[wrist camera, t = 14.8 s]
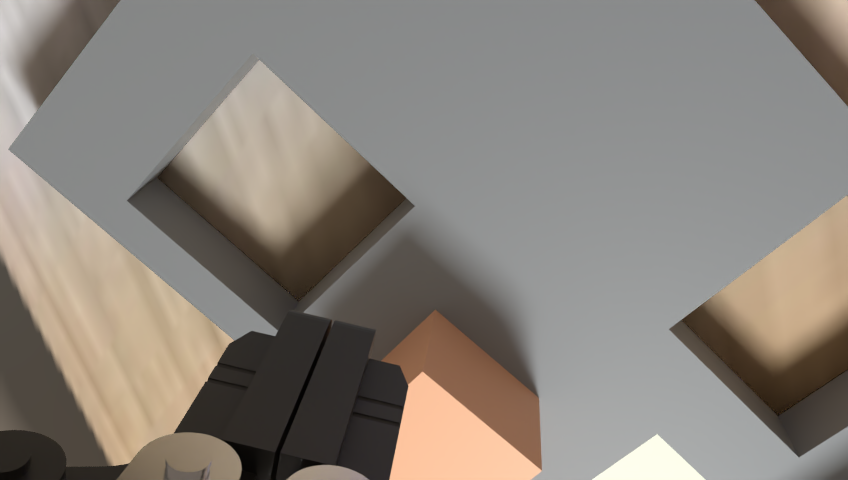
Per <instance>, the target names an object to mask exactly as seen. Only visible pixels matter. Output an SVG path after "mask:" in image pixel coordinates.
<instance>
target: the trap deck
mask: <svg viewBox="0 0 848 480" xmlns="http://www.w3.org/2000/svg"><path fill="white" fill-rule="evenodd" d="M258 60H260V61H262V62H263V63H264V64H265V65H266V66H267V67H268V68H269V69H270V70H271V71H272V72H273V73H274V74H275V75H276V76H277V77H279V78H280V79H281V80H282V81H283V82H284V83H285V84H286V85H287V86H288V87H289V88H290V89H291V90H292V91H293V92H294V93H296V94H297V95H298V96H299V97H300V98H301V99H302V100H303V101H304V102H305V103H306V104H307V105H308V106H309V107H310V108H311V109H313V110H314V111H315V112H316V113H317V114H318V115H319V116H320V117H321V118H322V119H323V120H324V121H325V122H326V123H327V124H328V125H330V126H331V127H332V128H333V129H334V130H335V131H336V132H337V133H338V134H339V135H340V136H341V137H342V138H343V139H344V140H345V141H347V142H348V143H349V144H350V145H351V146H352V147H353V148H354V149H355V150H356V151H357V152H358V153H359V154H360V155H361V156H362V157H363V158H365V159H366V160H367V161H368V162H369V163H370V164H371V165H372V166H373V167H374V168H375V169H376V170H377V171H378V172H379V173H380V174H382V175H383V176H384V177H385V178H386V179H387V180H388V181H389V182H390V183H391V184H392V185H393V186H394V187H395V188H396V189H397V190H399V191H400V192H401V193H402V194H403V195H404V196H405V197H406V199H405V200H404V201H403V202H402V203H401V204H400V205H399V206H398V207H397V208H396V209H395V210H394V211H393V212H392V213H390V214H389V215H388V216H387V217H386V218H385V219H384V220H383V221H382V222H381V223H380V224H379V225H378V226H377V227H376V228H375V229H374V230H373V231H372V232H371V233H370V234H369V235H368V236H367V237H366V238H364V239H363V240H362V241H361V242H360V243H359V244H358V245H357V246H356V247H355V248H354V249H353V250H352V251H351V252H350V253H349V254H348V255H347V256H346V257H345V258H344V259H343V260H342V261H341V262H340V263H338V264H337V265H336V266H335V267H334V268H333V269H332V270H331V271H330V272H329V273H328V274H327V275H326V276H325V277H324V278H323V279H322V280H321V281H320V282H319V283H318V284H317V285H316V286H315V287H313V288H312V289H311V290H310V291H309V292H308V293H307V294H306V295H305V296H304V297H303V298H302V299H301V300H300V301H299V302H298V301H297V300H296V299H295V298H294V297H293V296H292V295H290V294H289V293H288V292H287V291H286V290H285V289H284V288H282V287H281V286H280V285H279V284H278V283H277V282H276V281H274V280H273V279H272V278H271V277H270V276H269V275H268V274H266V273H265V272H264V271H263V270H262V269H261V268H260V267H258V266H257V265H256V264H255V263H254V262H253V261H252V260H250V259H249V258H248V257H247V256H246V255H245V254H244V253H242V252H241V251H240V250H239V249H238V248H237V247H236V246H234V245H233V244H232V243H231V242H230V241H229V240H228V239H226V238H225V237H224V236H223V235H222V234H221V233H220V232H218V231H217V230H216V229H215V228H214V227H213V226H212V225H210V224H209V223H208V222H207V221H206V220H205V219H204V218H202V217H201V216H200V215H199V214H198V213H197V212H196V211H194V210H193V209H192V208H191V207H190V206H189V205H188V204H186V203H185V202H184V201H183V200H182V199H181V198H180V197H178V196H177V195H176V194H175V193H174V192H173V191H172V190H170V189H169V188H168V187H167V186H166V185H165V184H164V183H162V182H161V181H160V180H159V179H158V178H157V177H158V176H159V175H160V174H161V172H162V171H163V170H164V169H165V168H166V167H167V166H168V164H169V163H170V162H171V161H172V160H173V159H174V157H175V156H176V155H177V154H178V153H179V152H180V150H181V149H182V148H183V147H184V146H185V145H186V144H187V142H188V141H189V140H190V139H191V138H192V137H193V135H194V134H195V133H196V132H197V131H198V130H199V128H200V127H201V126H202V125H203V124H204V123H205V122H206V120H207V119H208V118H209V117H210V116H211V115H212V113H213V112H214V111H215V110H216V109H217V108H218V106H219V105H220V104H221V103H222V102H223V101H224V100H225V98H226V97H227V96H228V95H229V94H230V93H231V91H232V90H233V89H234V88H235V87H236V86H237V84H238V83H239V82H240V81H241V80H242V79H243V78H244V76H245V75H246V74H247V73H248V72H249V71H250V69H251V68H252V67H253V66H254V65H255V64H256V62H257V61H258ZM9 150H10V151H11V152H12V153H13V154H14V155H16V156H17V157H18V158H19V159H20V160H22V161H23V162H24V163H25V164H26V165H27V166H29V167H30V168H31V169H32V170H33V171H35V172H36V173H37V174H38V175H39V176H40V177H42V178H43V179H44V180H45V181H46V182H48V183H49V184H50V185H51V186H52V187H53V188H55V189H56V190H57V191H58V192H59V193H61V194H62V195H63V196H64V197H65V198H67V199H68V200H69V201H70V202H71V203H72V204H74V205H75V206H76V207H77V208H78V209H80V210H81V211H82V212H83V213H84V214H85V215H87V216H88V217H89V218H90V219H91V220H93V221H94V222H95V223H96V224H97V225H98V226H100V227H101V228H102V229H103V230H104V231H106V232H107V233H108V234H109V235H110V236H111V237H113V238H114V239H115V240H116V241H117V242H119V243H120V244H121V245H122V246H123V247H125V248H126V249H127V250H128V251H129V252H130V253H132V254H133V255H134V256H135V257H136V258H138V259H139V260H140V261H141V262H142V263H143V264H145V265H146V266H147V267H148V268H149V269H151V270H152V271H153V272H154V273H155V274H156V275H158V276H159V277H160V278H161V279H162V280H164V281H165V282H166V283H167V284H168V285H169V286H171V287H172V288H173V289H174V290H175V291H177V292H178V293H179V294H180V295H181V296H183V297H184V298H185V299H186V300H187V301H188V302H190V303H191V304H192V305H193V306H194V307H196V308H197V309H198V310H199V311H200V312H201V313H203V314H204V315H205V316H206V317H207V318H209V319H210V320H211V321H212V322H213V323H214V324H216V325H217V326H218V327H219V328H220V329H222V330H223V331H224V332H225V333H226V334H228V335H229V336H230V337H231V338H232V339H233V340H237V339H238V338H240V337H242V336H243V335H245V334H247V333H248V332H250V331H255V332H259V333H264V334H268V335H272V336H276V334H277V332H278V330H279V328H280V326H281V324H282V322H283V321H284V319H285V317H286V315H287V313H288V311H289V310H294V311H299V312H303V313H307V314H311V315H316V316H320V317H324V318H328V319H332V325H333V323H334V321H335V320H337V321H342V322H346V323H350V324H354V325H359V326H363V327H367V328H371V329H375V330H377V331H376V337H375V342H374V346H373V351H372V355H371V359H374V360H378V361H381V360H382V359H383V358H385V357H386V356H387V355H388V354H389V353H390V352H391V351H392V350H393V349H394V348H395V347H396V346H397V345H398V344H399V343H400V342H402V341H403V340H404V339H405V338H406V337H407V336H408V335H409V334H410V333H411V332H412V331H413V330H414V329H415V328H416V327H417V326H419V325H420V324H421V323H422V322H423V321H424V320H425V319H426V318H427V317H428V316H429V315H430V314H431V313H432V312H433V311H434V310H436V311H438V312H439V313H440V314H441V315H442V316H444V317H445V318H446V319H447V320H448V321H449V322H451V323H452V324H453V325H454V326H455V327H456V328H458V329H459V330H460V331H461V332H462V333H463V334H465V335H466V336H467V337H468V338H469V339H470V340H472V341H473V342H474V343H475V344H476V345H477V346H479V347H480V348H481V349H482V350H483V351H485V352H486V353H487V354H488V355H489V356H490V357H492V358H493V359H494V360H495V361H496V362H497V363H499V364H500V365H501V366H502V367H503V368H504V369H506V370H507V371H508V372H509V373H510V374H511V375H513V376H514V377H515V378H516V379H517V380H518V381H520V382H521V383H522V384H523V385H524V386H526V387H527V388H528V389H529V390H530V391H531V392H533V393H534V394H535V395H536V396H537V397H538V398H539V407H540V432H541V457H542V471H541V472H540V473H539V474H537V475H536V476H535V477H534V478H532V479H531V480H848V370H847V371H845V372H844V373H842V374H841V375H839V376H838V377H836V378H835V379H833V380H832V381H830V382H829V383H827V384H826V385H824V386H823V387H821V388H820V389H818V390H817V391H815V392H814V393H812V394H811V395H809V396H808V397H806V398H805V399H803V400H802V401H800V402H799V403H797V404H796V405H794V406H793V407H791V408H790V409H788V410H787V411H785V412H784V413H782V414H781V415H779V416H777V415H776V414H775V413H774V412H773V411H772V410H771V409H770V408H769V407H768V406H767V405H766V404H765V403H764V402H763V401H762V400H761V399H760V398H759V397H758V396H757V395H756V394H755V393H754V392H753V391H752V390H751V389H750V388H749V387H748V386H747V385H746V384H745V383H744V382H743V381H742V380H741V379H740V378H739V377H738V376H737V375H736V374H735V373H734V372H733V371H732V370H731V369H730V368H729V367H728V366H727V365H726V364H725V363H724V362H723V361H722V360H721V359H720V358H719V357H718V356H717V355H716V354H715V353H714V352H713V351H712V350H711V349H710V348H709V347H708V346H707V345H706V344H705V343H704V342H703V341H702V340H701V339H700V338H699V337H698V336H697V335H696V334H695V333H694V332H693V331H692V330H691V329H690V328H689V327H688V326H687V325H686V324H685V323H684V322H683V321H682V319H683V318H684V317H686V316H687V315H688V314H690V313H691V312H692V311H694V310H695V309H696V308H698V307H699V306H700V305H702V304H703V303H704V302H706V301H707V300H708V299H710V298H711V297H712V296H714V295H715V294H716V293H718V292H719V291H720V290H722V289H723V288H724V287H726V286H727V285H728V284H730V283H731V282H732V281H734V280H735V279H736V278H738V277H739V276H740V275H742V274H743V273H744V272H746V271H747V270H748V269H750V268H751V267H752V266H754V265H755V264H756V263H758V262H759V261H760V260H762V259H763V258H764V257H766V256H767V255H768V254H770V253H771V252H772V251H774V250H775V249H776V248H778V247H779V246H780V245H781V244H783V243H784V242H785V241H787V240H788V239H789V238H791V237H792V236H793V235H795V234H796V233H797V232H799V231H800V230H801V229H803V228H804V227H805V226H807V225H808V224H809V223H811V222H812V221H813V220H815V219H816V218H817V217H819V216H820V215H821V214H823V213H824V212H825V211H827V210H828V209H829V208H831V207H832V206H833V205H835V204H836V203H837V202H839V201H840V200H841V199H843V198H844V197H845V196H848V106H847V105H846V104H845V103H844V102H843V100H842V99H841V98H840V97H839V96H838V95H837V94H836V92H835V91H834V90H833V89H832V88H831V87H830V86H829V84H828V83H827V82H826V81H825V80H824V79H823V78H822V76H821V75H820V74H819V73H818V72H817V71H816V70H815V68H814V67H813V66H812V65H811V64H810V63H809V62H808V60H807V59H806V58H805V57H804V56H803V55H802V54H801V52H800V51H799V50H798V49H797V48H796V47H795V46H794V44H793V43H792V42H791V41H790V40H789V39H788V38H787V36H786V35H785V34H784V33H783V32H782V31H781V30H780V28H779V27H778V26H777V25H776V24H775V23H774V22H773V20H772V19H771V18H770V17H769V16H768V15H767V14H766V12H765V11H764V10H763V9H762V8H761V7H760V6H759V4H758V3H757V2H756V1H755V0H120V1H119V3H118V4H117V5H116V7H115V8H114V9H113V11H112V12H111V13H110V15H109V16H108V17H107V19H106V20H105V21H104V23H103V24H102V25H101V27H100V28H99V29H98V31H97V32H96V33H95V35H94V36H93V37H92V39H91V40H90V41H89V42H88V44H87V45H86V46H85V48H84V49H83V50H82V52H81V53H80V54H79V56H78V57H77V58H76V60H75V61H74V62H73V64H72V65H71V66H70V68H69V69H68V70H67V72H66V73H65V74H64V76H63V77H62V78H61V80H60V81H59V82H58V84H57V85H56V86H55V88H54V89H53V90H52V92H51V93H50V94H49V96H48V97H47V98H46V100H45V101H44V102H43V104H42V105H41V106H40V108H39V109H38V110H37V112H36V113H35V114H34V116H33V117H32V118H31V120H30V121H29V122H28V124H27V125H26V126H25V128H24V129H23V130H22V132H21V133H20V134H19V136H18V137H17V138H16V140H15V141H14V142H13V144H12V145H11V146H10V148H9Z"/></svg>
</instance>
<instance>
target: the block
mask: <svg viewBox="0 0 848 480" xmlns="http://www.w3.org/2000/svg"><path fill="white" fill-rule="evenodd" d="M381 361H383V362H387V363H391V364H395V365H399V366H400V367H401V370H402V372H403V374H404V377H405V379H406V381H407V384H408V391H407V396H406V401H405V406H404V411H403V415H402V420H401V425H400V430H399V435H398V440H397V445H396V450H395V455H394V459H393V464H392V469H391V474H390V479H389V480H531V479H532V478H534V477H535V476H536V475H537V474H539V473H540V472H541V471H542V457H541V432H540V407H539V398H538V397H537V396H536V395H535V394H534V393H533V392H531V391H530V390H529V389H528V388H527V387H526V386H524V385H523V384H522V383H521V382H520V381H518V380H517V379H516V378H515V377H514V376H513V375H511V374H510V373H509V372H508V371H507V370H506V369H504V368H503V367H502V366H501V365H500V364H499V363H497V362H496V361H495V360H494V359H493V358H492V357H490V356H489V355H488V354H487V353H486V352H485V351H483V350H482V349H481V348H480V347H479V346H477V345H476V344H475V343H474V342H473V341H472V340H470V339H469V338H468V337H467V336H466V335H465V334H463V333H462V332H461V331H460V330H459V329H458V328H456V327H455V326H454V325H453V324H452V323H451V322H449V321H448V320H447V319H446V318H445V317H444V316H442V315H441V314H440V313H439V312H438V311H436V310H434V311H433V312H432V313H431V314H430V315H429V316H428V317H427V318H426V319H425V320H424V321H423V322H422V323H421V324H420V325H419V326H417V327H416V328H415V329H414V330H413V331H412V332H411V333H410V334H409V335H408V336H407V337H406V338H405V339H404V340H403V341H402V342H400V343H399V344H398V345H397V346H396V347H395V348H394V349H393V350H392V351H391V352H390V353H389V354H388V355H387V356H386V357H385V358H383V359H382V360H381Z"/></svg>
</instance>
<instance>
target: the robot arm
mask: <svg viewBox="0 0 848 480" xmlns="http://www.w3.org/2000/svg"><path fill="white" fill-rule="evenodd" d="M376 331H377V330H375V329H371V328H367V327H363V326H359V325H354V324H350V323H346V322H342V321H337V320H335V321H334V323H333V325H332V319H328V318H324V317H320V316H316V315H311V314H307V313H303V312H299V311H294V310H289V311H288V313H287V315H286V317H285V319H284V321H283V322H282V324H281V326H280V328H279V330H278V332H277V334H276V336H272V335H268V334H264V333H259V332H255V331H250V332H248V333H247V334H245V335H243V336H242V337H240V338H238V339H237V340H235V341H233V342H232V343H230V344H229V345H228V347H227V348H226V350H225V352H224V353H223V355H222V357H221V358H220V360H219V361H218V364H217V366H215V368H214V369H213V371H212V373H211V374H210V376H209V377H208V381H207V382H205V384H204V386H203V387H202V389H201V390H200V392H199V394H198V395H197V397H196V398H195V400H194V402H193V403H192V405H191V406H190V408H189V410H188V411H187V413H186V414H185V416H184V418H183V419H182V421H181V423H180V424H179V426H178V427H177V429H176V431H175V432H174V434H170V435H166V436H163V437H160V438H157V439H155V440H153V441H152V442H150V443H148V444H147V445H146V446H144V447H143V448H142V449H141V450H140V451H139V452H138V453H137V455H136V456H135V457H134V458H133V460H132V461H131V462H130V463H129V464H124V465H118V466H107V467H66V456H65V453H64V451H63V449H62V448H61V446H60V445H59V444H58V443H57V442H55V441H54V440H52V439H51V438H49V437H47V436H44V435H42V434H39V433H35V432H30V431H22V430H9V431H0V480H389V479H390V474H391V469H392V464H393V459H394V455H395V450H396V445H397V440H398V435H399V430H400V425H401V420H402V415H403V411H404V406H405V401H406V396H407V391H408V384H407V381H406V379H405V377H404V374H403V372H402V370H401V367H400V366H399V365H395V364H391V363H387V362H383V361H378V360H374V359H371V355H372V351H373V346H374V342H375V337H376Z"/></svg>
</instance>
